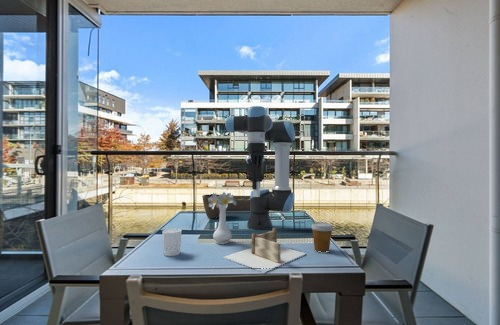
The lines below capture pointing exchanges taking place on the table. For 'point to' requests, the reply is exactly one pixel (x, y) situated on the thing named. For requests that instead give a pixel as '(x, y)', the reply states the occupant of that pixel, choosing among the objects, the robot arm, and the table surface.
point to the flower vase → (222, 216)
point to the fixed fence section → (264, 237)
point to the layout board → (261, 262)
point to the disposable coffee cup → (322, 236)
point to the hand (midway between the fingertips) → (256, 196)
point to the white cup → (171, 241)
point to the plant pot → (208, 210)
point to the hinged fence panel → (267, 249)
